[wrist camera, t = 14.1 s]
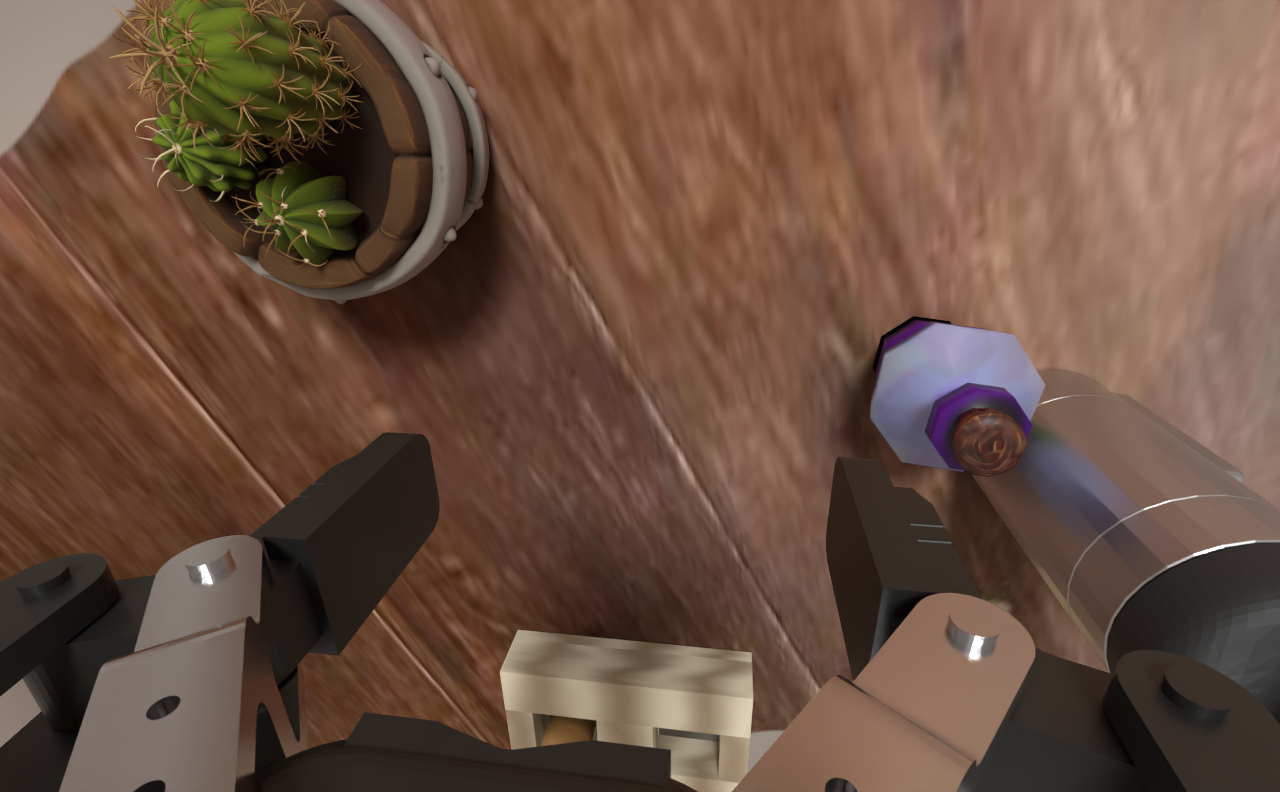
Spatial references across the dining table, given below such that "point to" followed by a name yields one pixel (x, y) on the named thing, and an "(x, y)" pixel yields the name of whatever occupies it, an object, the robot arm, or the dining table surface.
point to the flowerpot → (313, 137)
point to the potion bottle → (954, 396)
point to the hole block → (637, 699)
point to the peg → (568, 730)
